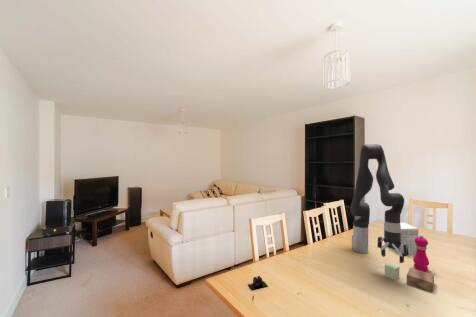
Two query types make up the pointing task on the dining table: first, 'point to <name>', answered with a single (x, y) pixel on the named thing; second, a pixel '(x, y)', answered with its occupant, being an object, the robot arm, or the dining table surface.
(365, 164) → the robot arm
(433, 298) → the dining table surface
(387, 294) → the dining table surface
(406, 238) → the supplement box
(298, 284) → the dining table surface
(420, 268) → the pepper mill
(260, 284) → the black irregular piece
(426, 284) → the walnut box
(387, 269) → the green block
